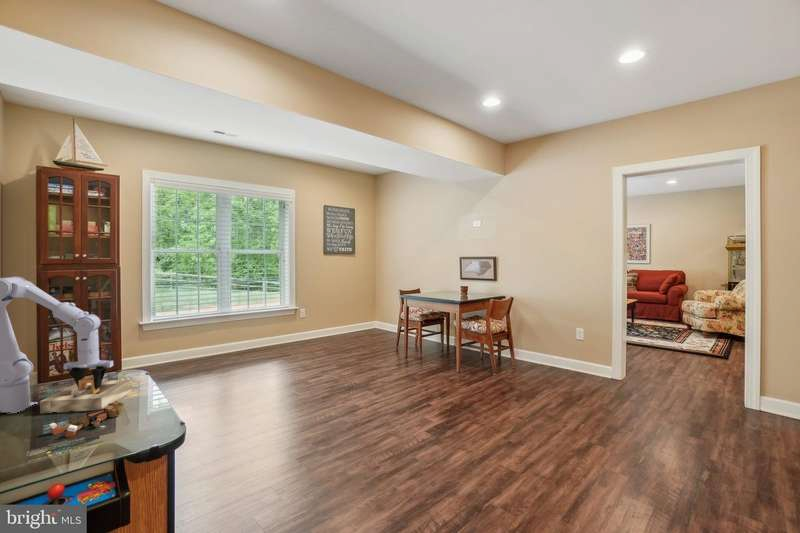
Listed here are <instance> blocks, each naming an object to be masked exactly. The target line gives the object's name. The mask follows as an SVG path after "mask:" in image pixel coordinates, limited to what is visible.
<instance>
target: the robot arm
mask: <svg viewBox="0 0 800 533" xmlns="http://www.w3.org/2000/svg"><path fill="white" fill-rule="evenodd" d="M15 298H20V299H21V298H24V299H25V298H26V299H29V300H30V301H33V302H35V303H36V304H38V305H41V306H42V307H45V308H47V309H49V310H50V311H52V316H53V317H55V318H57V319H59V320H61V321H62V322H63V323H66V324H67V325H69V326H70V327H72V328H73V331H74V332H75V333H76V338H77V339H76V342H77V361H71V362H69V361H68V362H66V363H63V370H69V371H68V373H69V375H70V376H71V377H72V379H73V380H74V382H75V384H77V387H78V389H79V382H78V381H79V380H81V379H83V378H86V371H87V369H91V374H92V377H94V386H95V389H98V388H99V387H101V383H102V380H104V376H105V375H106V372H107V371H108V369H109V368H112V367H114V360H103V359H102V360H101V359H100V349H99V348H100V342H99V328H100V326H101V323H102V321H101V318H100V317H99V316H97V315H96V314H93V313H92V314H91V313H89V312H88V311H84V310H82V309H81V308H78V307H77V306H76V303H74V302H67V301H66V302H65V301H64V302H61V301H60V300H58V299H56V298H55V297H53V296H52V295H50V294H49V293H47V292H45V291H44V290H42V289H41V288H39V287H38V286H36V285H35V284H34V283H33V282H31V281H29V280H26V279H25V278H23V277H22V276H11V277H0V411H1V412H10V413H9V414H18V413H17V412H19V413H21V412H23V411H25V410H27V409H29V408H31V407H33V406H35V405H34V404H36V405H37V404H38V403H39V402H38V401H31V386H30V384H31V383H30V375H31V374H32V373H33V372H34V364H33V362H31V361H30V360H29V358H28V357H27V354H25V353H23V352H21V351H20V348H19V347H20V346H19V344H18V341H17V338H16V335H15V333H14V329H13V326H12V322H11V319H10V317H9V314H8V311H7V306H8V305H9V304H10V303H11V301H13V300H14V299H15ZM32 405H33V406H32ZM30 406H31V407H30ZM28 407H29V408H28ZM26 408H27V409H26ZM20 411H21V412H20Z"/></svg>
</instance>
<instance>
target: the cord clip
mask: <svg viewBox="0 0 800 533" xmlns="http://www.w3.org/2000/svg"><path fill="white" fill-rule="evenodd" d="M78 382H79V391H81V390H83V389H85V388H87V383H91V393H92V394H95V393H97V392H98V391H99V388H98V389H95V386H94V377H93V376H92V377H85V378H83V379H81V380H79V381H78ZM83 394H84V393H83ZM81 395H82V394H81Z"/></svg>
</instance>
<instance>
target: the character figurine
mask: <svg viewBox="0 0 800 533" xmlns="http://www.w3.org/2000/svg"><path fill="white" fill-rule="evenodd" d="M124 405H125V404H124V403H122V402H120V401H115V402H112V403H110V404H108V406H107V407H106V408H103V409H100V410H93V411H91V412H85V416H83V417H81V418H78V419H76V420H73V421H70V423H67V424H65V425H64V426H58V424H57V423H55V422H51V423H50V424H49V428H50V432H51V434H52V435H54V436H55V435H58V434H61V433H64V432H65V431H66V432H65V434H64V438H65V437H66V438H73V437H74V436H75V435H76V434H77V431H79V430H80V429H83V428H86V427H87V426H89V425H91V426H92V427H94V428H96V427H99V426H100V424H101V422H104V421H106V420H107V419H108V418H115V417H117V416H120V415H121V414H122V412H123V408H122V407H123V406H124ZM73 435H74V436H73ZM72 436H73V437H72Z"/></svg>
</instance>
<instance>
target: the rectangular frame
mask: <svg viewBox="0 0 800 533" xmlns="http://www.w3.org/2000/svg"><path fill="white" fill-rule="evenodd" d="M132 391H133V379H121V380H120V379H118V380H116V379H115V380H105V379H103V380H102V383H101V387H99V391H98V392H97V393H95V394H92V393H91V383H87V388H85V389H83V390H81V391H79V389H78V387H77V384H76V383H74V384H72V385H71V386H68V387H66V388H64V389H63V390H60V391H58V392H56V393H54V394H52V395H50V396H47V397H46V398H44V399H42V400H40V401H39V410H40V411H39V412H40V414H50V413H51V414H53V413H52V412H57V413H71V412H70V411H74V412H87V411H88V412H89V411H91V412H92V411H98V410H100V409H103V408H106V407H108V404H110V403H112V402H117V401H118V400H119V399H121V398H122V397H124V396H125V395H127V394H129V393H130V392H132ZM83 393H84V394H83ZM81 394H82V395H81Z"/></svg>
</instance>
